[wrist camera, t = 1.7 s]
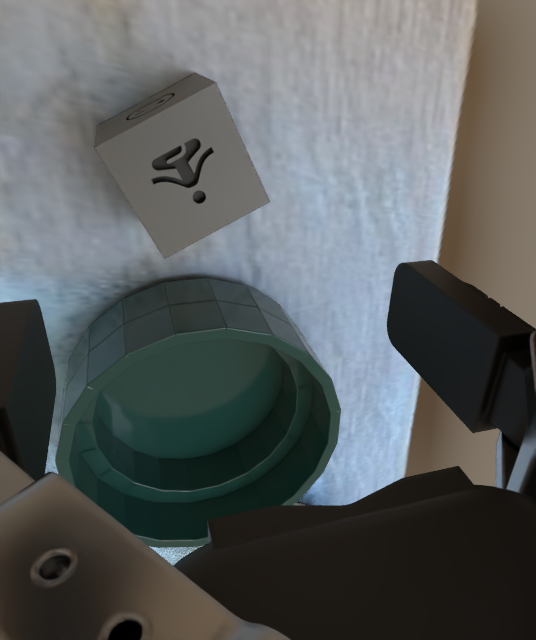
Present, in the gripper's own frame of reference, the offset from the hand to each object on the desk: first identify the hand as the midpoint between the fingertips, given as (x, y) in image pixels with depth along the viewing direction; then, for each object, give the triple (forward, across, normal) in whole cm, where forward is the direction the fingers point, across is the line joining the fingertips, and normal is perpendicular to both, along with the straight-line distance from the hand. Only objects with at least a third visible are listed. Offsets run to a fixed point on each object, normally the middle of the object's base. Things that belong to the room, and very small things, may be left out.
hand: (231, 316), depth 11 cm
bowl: (+15, 0, +13) cm, 20 cm away
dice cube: (+15, 0, -1) cm, 15 cm away
